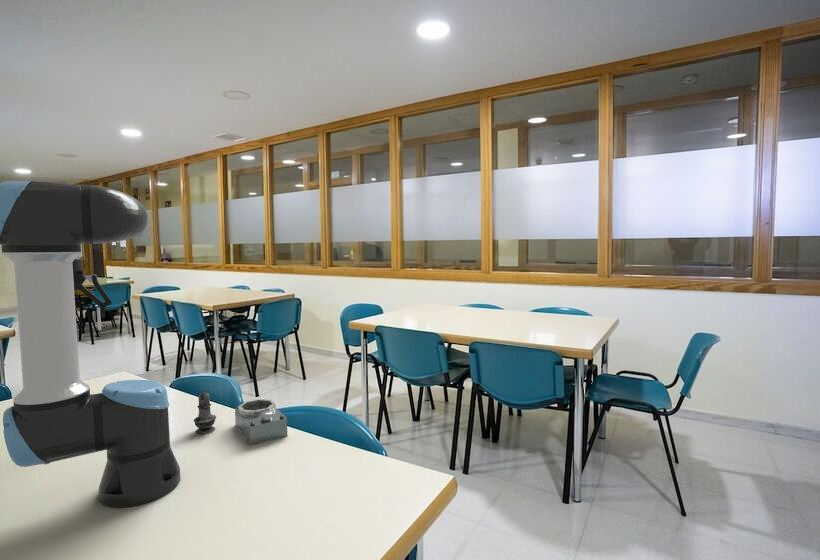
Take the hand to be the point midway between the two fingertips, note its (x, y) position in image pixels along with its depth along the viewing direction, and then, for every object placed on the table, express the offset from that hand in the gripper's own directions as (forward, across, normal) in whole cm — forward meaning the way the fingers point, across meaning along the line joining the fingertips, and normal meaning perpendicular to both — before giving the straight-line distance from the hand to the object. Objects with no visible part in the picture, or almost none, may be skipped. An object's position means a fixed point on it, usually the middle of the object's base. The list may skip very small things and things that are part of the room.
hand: (70, 332), depth 125 cm
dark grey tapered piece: (+28, -30, +25) cm, 48 cm away
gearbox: (+28, -43, +34) cm, 62 cm away
